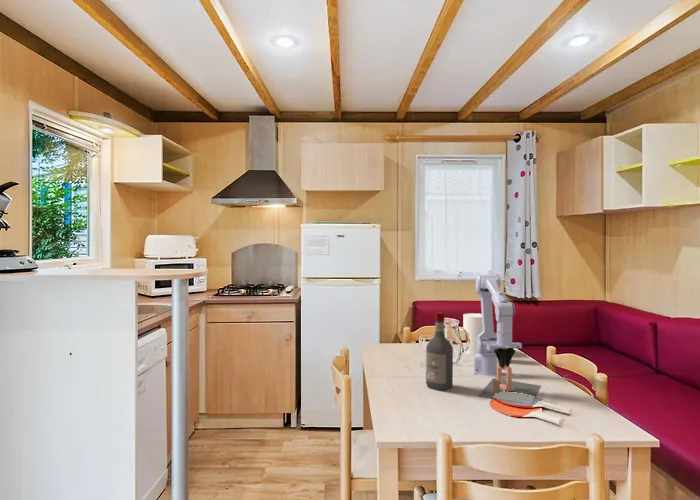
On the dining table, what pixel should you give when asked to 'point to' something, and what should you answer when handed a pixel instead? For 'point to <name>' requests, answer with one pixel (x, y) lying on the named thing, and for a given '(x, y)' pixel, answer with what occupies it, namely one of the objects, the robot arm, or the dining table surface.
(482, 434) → the dining table surface
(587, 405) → the dining table surface
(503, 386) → the orange rectangular frame
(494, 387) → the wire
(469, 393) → the dining table surface
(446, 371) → the liquor
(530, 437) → the dining table surface
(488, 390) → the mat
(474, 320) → the canister
